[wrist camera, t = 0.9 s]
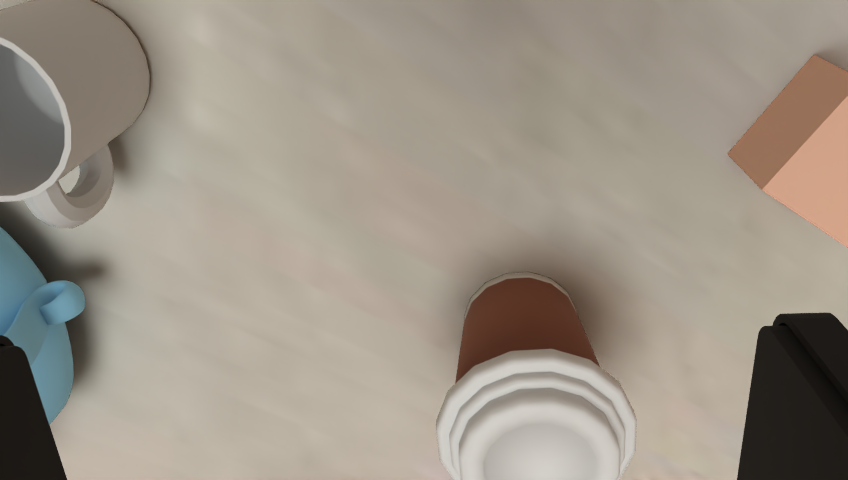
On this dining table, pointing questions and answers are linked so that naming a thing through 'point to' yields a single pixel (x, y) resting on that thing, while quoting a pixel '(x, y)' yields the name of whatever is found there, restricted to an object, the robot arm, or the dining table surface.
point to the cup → (65, 104)
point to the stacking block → (804, 147)
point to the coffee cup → (531, 392)
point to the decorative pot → (39, 322)
